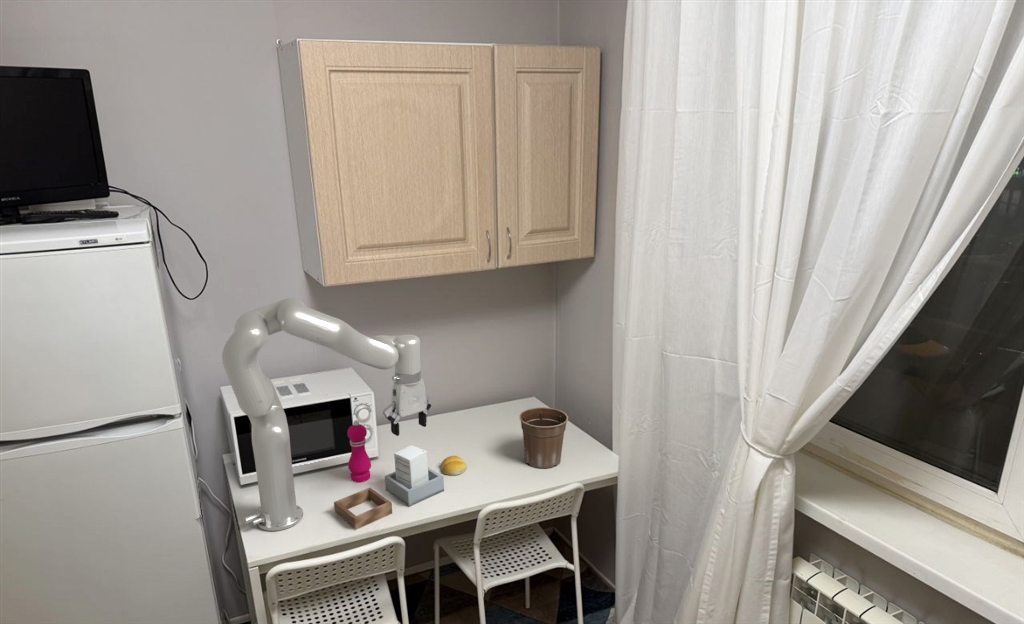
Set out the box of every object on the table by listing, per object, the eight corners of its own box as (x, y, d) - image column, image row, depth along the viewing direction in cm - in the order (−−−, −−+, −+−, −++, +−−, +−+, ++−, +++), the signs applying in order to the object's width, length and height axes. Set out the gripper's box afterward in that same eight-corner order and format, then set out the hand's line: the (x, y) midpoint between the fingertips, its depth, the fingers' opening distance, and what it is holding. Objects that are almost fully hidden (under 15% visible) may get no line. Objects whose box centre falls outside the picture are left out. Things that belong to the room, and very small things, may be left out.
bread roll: (444, 478, 206) (443, 467, 205) (439, 465, 215) (439, 454, 214) (469, 474, 209) (468, 463, 208) (463, 462, 217) (463, 451, 216)
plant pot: (565, 449, 225) (566, 406, 221) (569, 472, 209) (569, 426, 205) (519, 449, 225) (519, 406, 221) (519, 472, 209) (519, 426, 205)
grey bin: (409, 506, 190) (408, 491, 189) (385, 490, 199) (384, 475, 198) (444, 490, 198) (443, 476, 197) (419, 475, 208) (419, 461, 206)
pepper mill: (376, 475, 208) (372, 418, 203) (361, 485, 202) (356, 427, 197) (360, 470, 212) (355, 414, 207) (344, 479, 206) (339, 422, 201)
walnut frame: (355, 529, 179) (354, 518, 178) (334, 512, 187) (333, 502, 186) (392, 513, 187) (391, 502, 186) (370, 497, 195) (370, 487, 194)
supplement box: (413, 480, 203) (411, 444, 200) (429, 487, 199) (427, 450, 196) (395, 490, 198) (393, 452, 195) (412, 497, 193) (409, 459, 190)
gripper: (389, 386, 181) (391, 442, 185) (439, 373, 192) (439, 426, 196) (375, 379, 186) (377, 433, 190) (424, 367, 198) (425, 418, 202)
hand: (409, 429), depth 193 cm, fingers open, 9 cm apart
